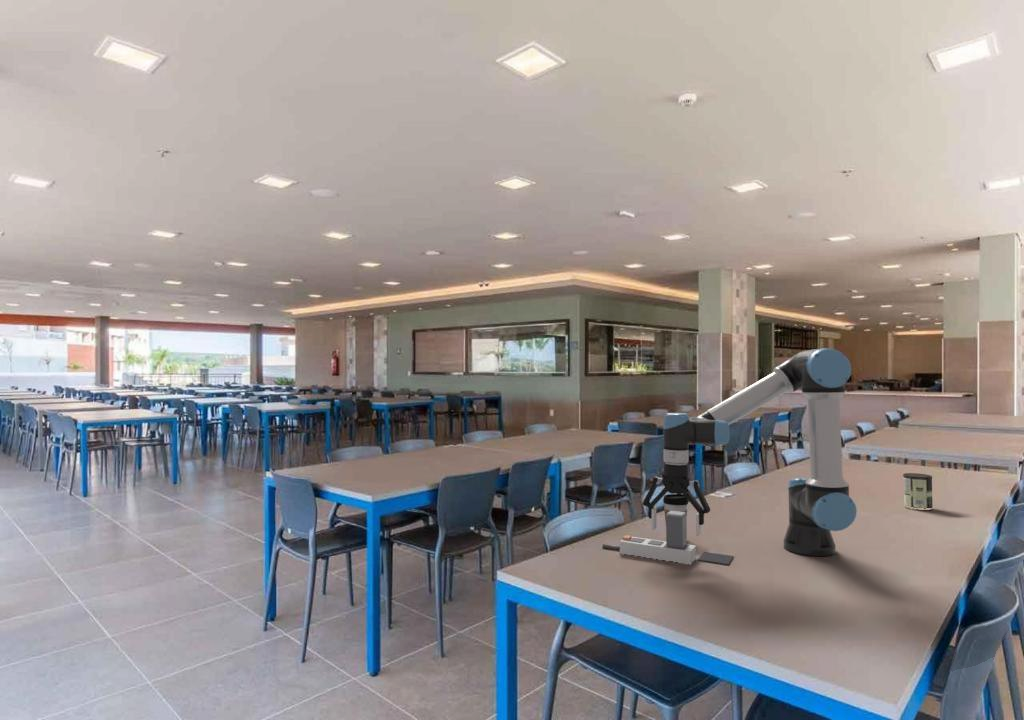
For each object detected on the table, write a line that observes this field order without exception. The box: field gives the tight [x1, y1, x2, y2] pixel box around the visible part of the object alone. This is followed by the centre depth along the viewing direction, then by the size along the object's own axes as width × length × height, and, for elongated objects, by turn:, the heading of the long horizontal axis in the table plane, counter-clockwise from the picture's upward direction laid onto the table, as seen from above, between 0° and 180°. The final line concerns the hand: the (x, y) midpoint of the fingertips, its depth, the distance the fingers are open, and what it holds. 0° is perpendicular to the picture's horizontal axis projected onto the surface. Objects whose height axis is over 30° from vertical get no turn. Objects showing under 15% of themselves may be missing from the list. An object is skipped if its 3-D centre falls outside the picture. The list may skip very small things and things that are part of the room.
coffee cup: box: [662, 493, 689, 522], centre depth 205 cm, size 8×8×15 cm
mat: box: [697, 551, 735, 566], centre depth 182 cm, size 9×9×1 cm
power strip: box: [602, 534, 697, 566], centre depth 186 cm, size 29×7×5 cm, turn 60°
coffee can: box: [902, 472, 933, 509], centre depth 251 cm, size 10×10×14 cm
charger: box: [665, 511, 688, 549], centre depth 182 cm, size 5×5×10 cm
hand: (675, 532), depth 182 cm, fingers open, 13 cm apart
